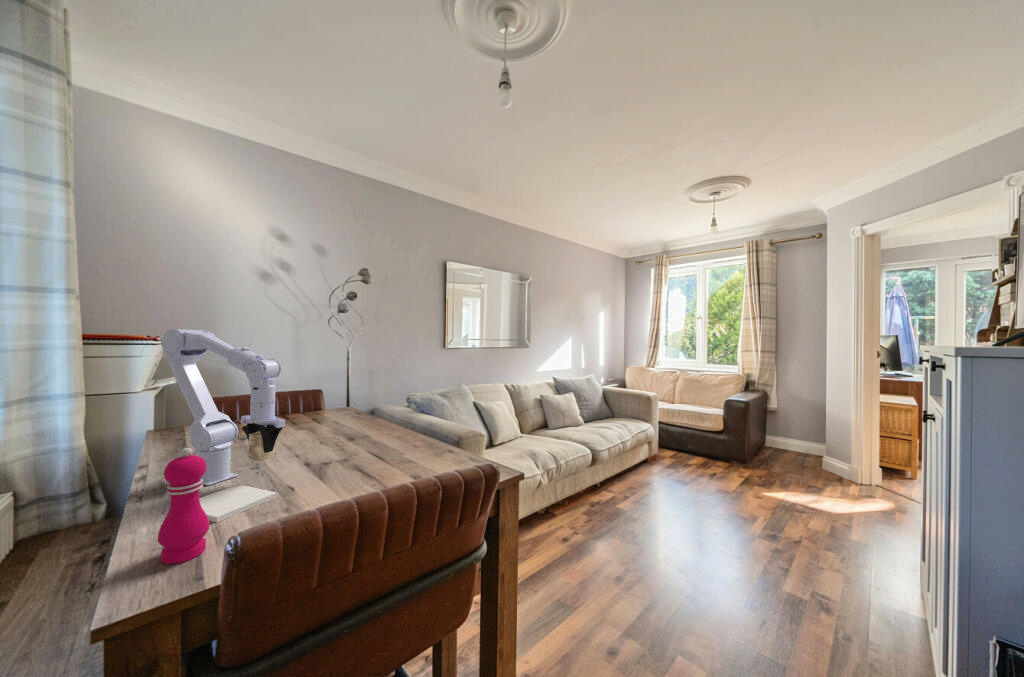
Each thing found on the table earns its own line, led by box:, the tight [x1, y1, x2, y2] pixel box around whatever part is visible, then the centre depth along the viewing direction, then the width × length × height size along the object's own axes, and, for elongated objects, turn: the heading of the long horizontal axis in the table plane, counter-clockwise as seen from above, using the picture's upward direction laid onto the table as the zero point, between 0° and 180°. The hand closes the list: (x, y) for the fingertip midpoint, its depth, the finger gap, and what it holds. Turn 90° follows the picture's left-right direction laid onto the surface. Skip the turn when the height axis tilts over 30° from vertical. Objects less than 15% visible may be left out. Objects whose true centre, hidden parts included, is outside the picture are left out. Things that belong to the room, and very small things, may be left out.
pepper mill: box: [157, 447, 210, 565], centre depth 69 cm, size 7×7×20 cm
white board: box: [199, 484, 278, 523], centre depth 89 cm, size 14×14×1 cm
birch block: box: [248, 432, 276, 462], centre depth 103 cm, size 4×4×7 cm
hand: (262, 450), depth 103 cm, fingers closed on birch block, 4 cm apart
